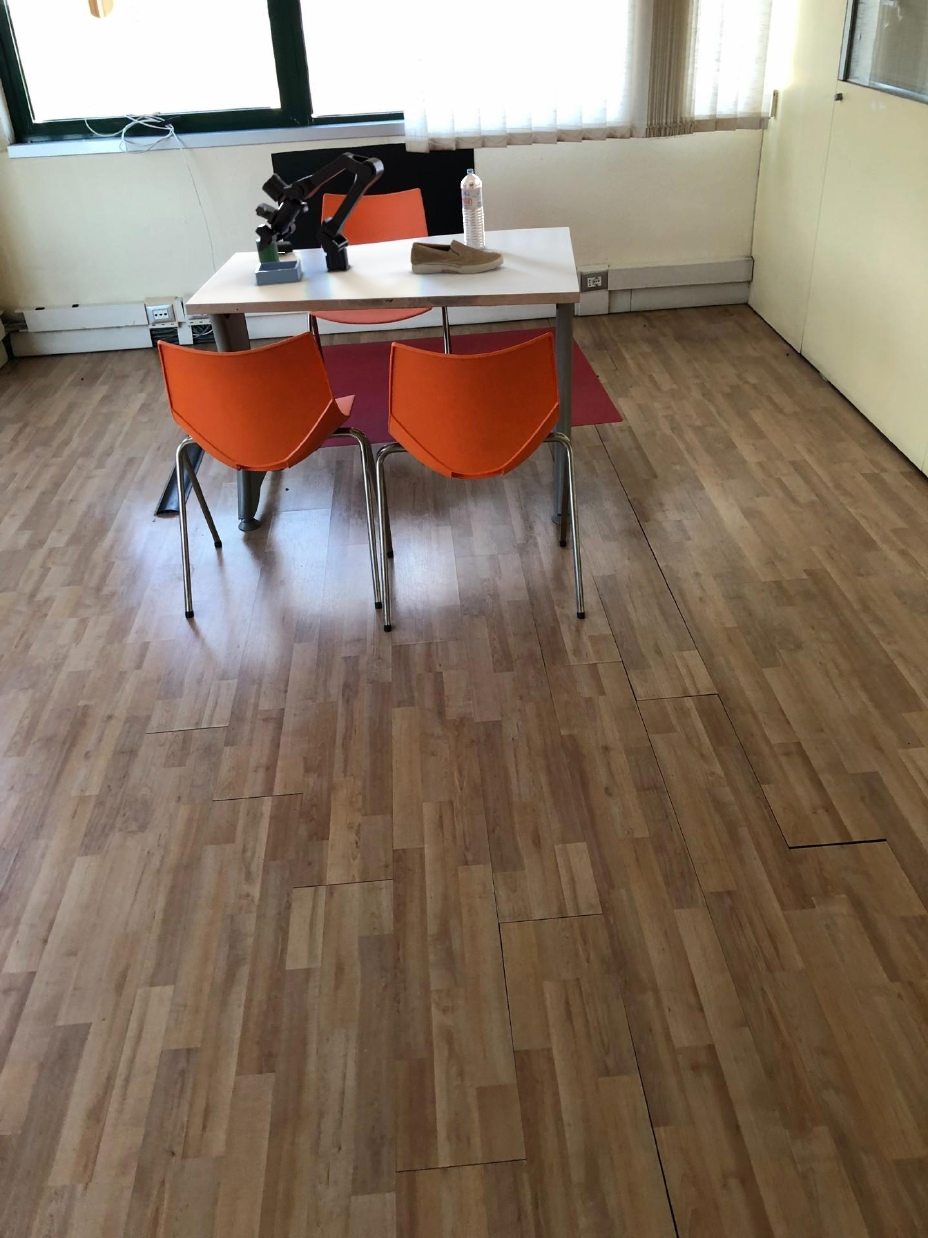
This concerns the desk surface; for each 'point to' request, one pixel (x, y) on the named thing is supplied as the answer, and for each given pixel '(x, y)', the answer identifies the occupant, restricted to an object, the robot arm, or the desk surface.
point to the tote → (278, 272)
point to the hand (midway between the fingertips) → (263, 248)
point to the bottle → (268, 253)
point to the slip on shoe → (452, 258)
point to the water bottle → (473, 211)
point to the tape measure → (284, 247)
